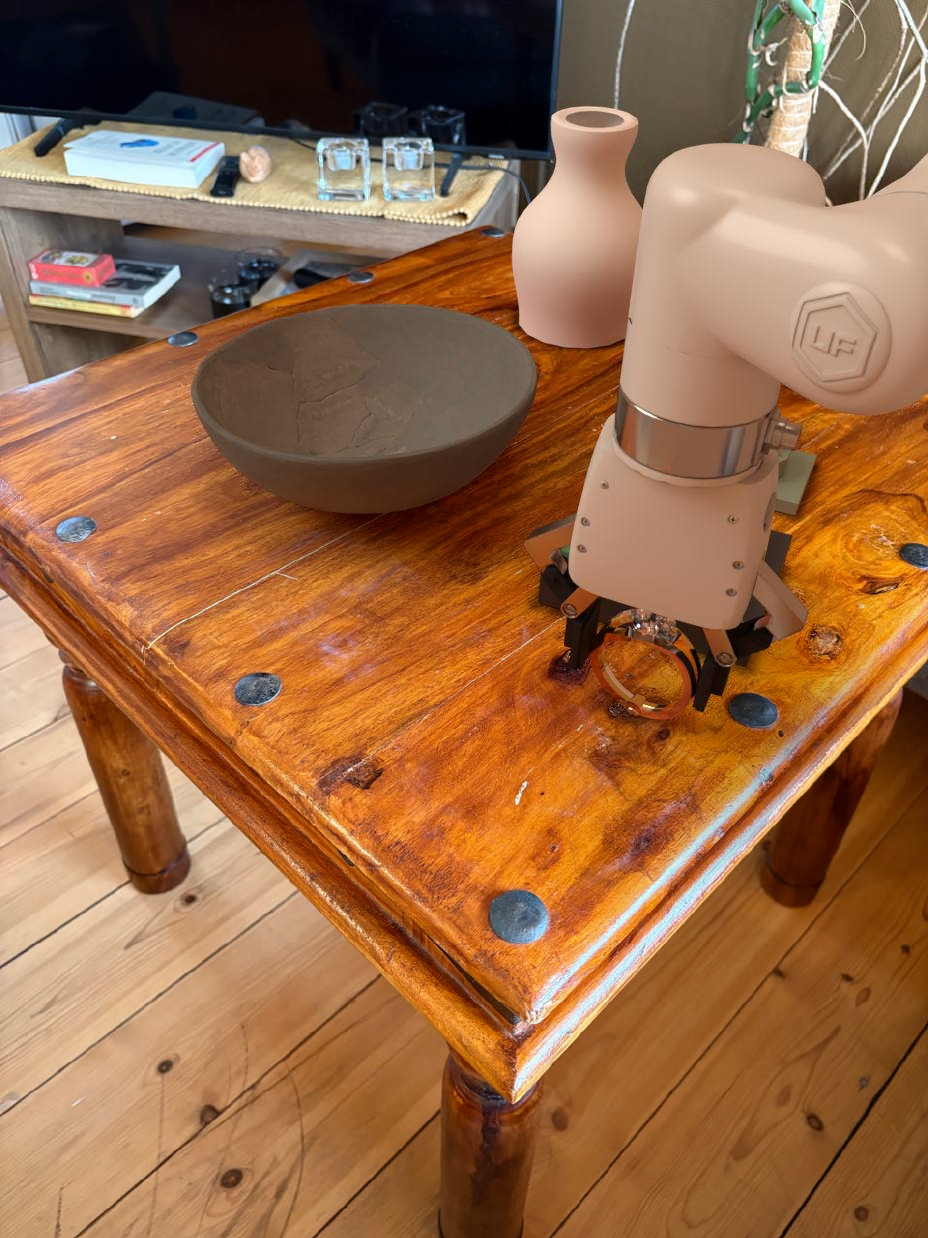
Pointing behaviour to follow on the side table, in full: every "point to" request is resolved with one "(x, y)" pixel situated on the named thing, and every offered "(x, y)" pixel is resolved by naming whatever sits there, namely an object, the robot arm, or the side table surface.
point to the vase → (580, 234)
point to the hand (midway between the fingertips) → (641, 674)
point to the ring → (654, 636)
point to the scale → (695, 634)
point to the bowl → (366, 403)
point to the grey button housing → (792, 479)
